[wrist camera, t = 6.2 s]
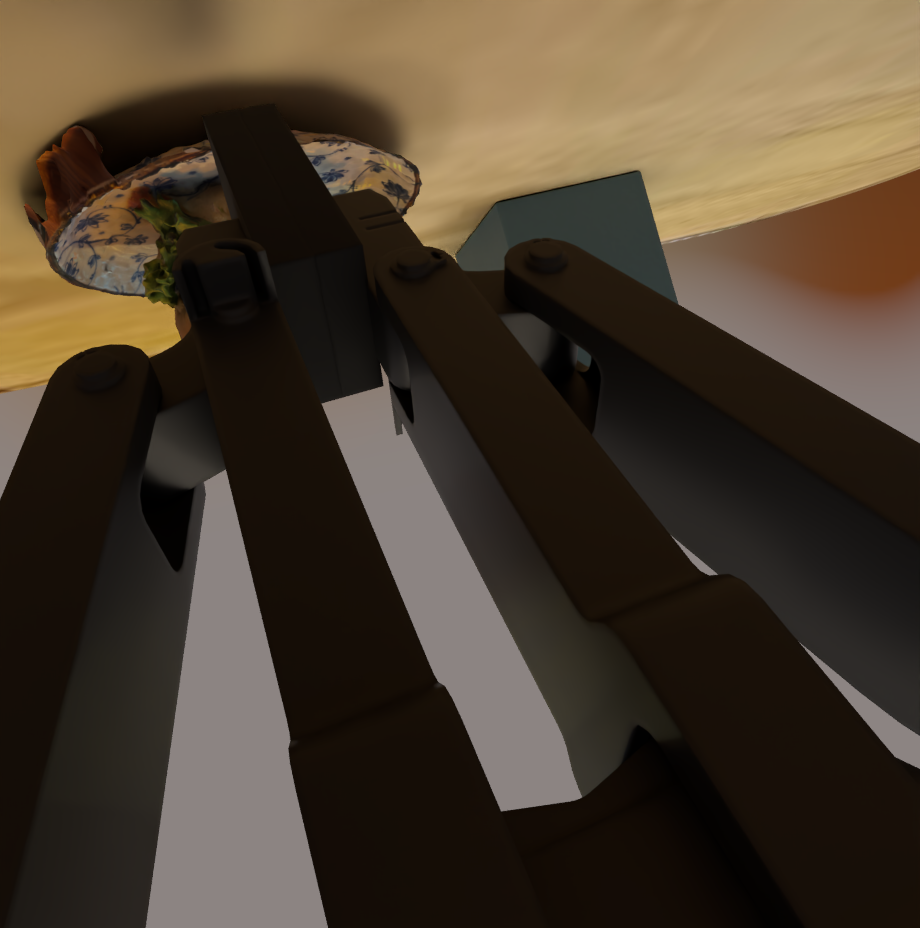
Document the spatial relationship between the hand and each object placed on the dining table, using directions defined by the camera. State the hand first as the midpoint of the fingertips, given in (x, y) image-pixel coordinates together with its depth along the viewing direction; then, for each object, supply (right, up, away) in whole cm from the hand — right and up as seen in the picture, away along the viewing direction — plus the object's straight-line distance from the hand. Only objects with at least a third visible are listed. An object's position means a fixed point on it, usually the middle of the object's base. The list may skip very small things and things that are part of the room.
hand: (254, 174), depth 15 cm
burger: (-3, +3, +7) cm, 8 cm away
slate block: (+9, +7, +23) cm, 25 cm away
